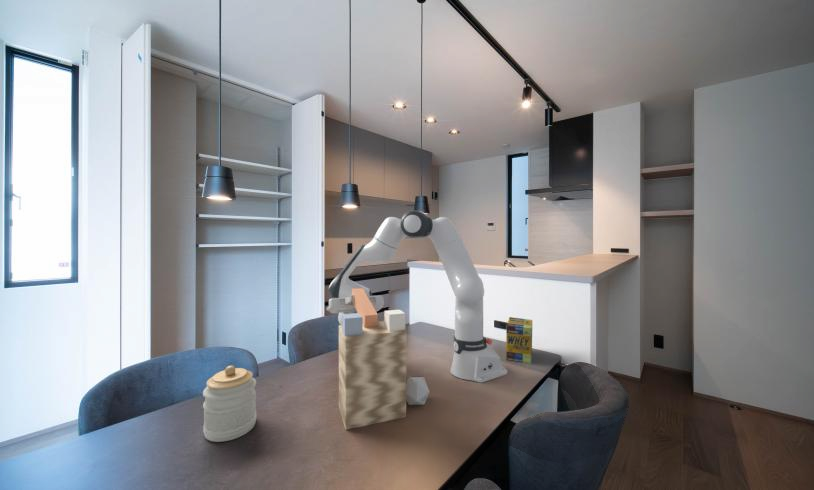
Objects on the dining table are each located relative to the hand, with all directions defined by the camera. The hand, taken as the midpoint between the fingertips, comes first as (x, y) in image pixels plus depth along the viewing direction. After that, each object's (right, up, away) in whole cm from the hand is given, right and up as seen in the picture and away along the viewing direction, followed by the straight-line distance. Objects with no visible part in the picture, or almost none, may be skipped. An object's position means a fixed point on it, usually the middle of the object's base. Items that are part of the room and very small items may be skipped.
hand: (360, 296), depth 110 cm
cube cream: (+13, -7, -15) cm, 21 cm away
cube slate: (+1, -7, -19) cm, 21 cm away
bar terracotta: (+2, -4, -4) cm, 6 cm away
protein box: (+67, -32, +32) cm, 81 cm away
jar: (-33, -33, -22) cm, 52 cm away
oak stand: (+6, -33, -14) cm, 36 cm away
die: (+20, -33, -8) cm, 39 cm away
